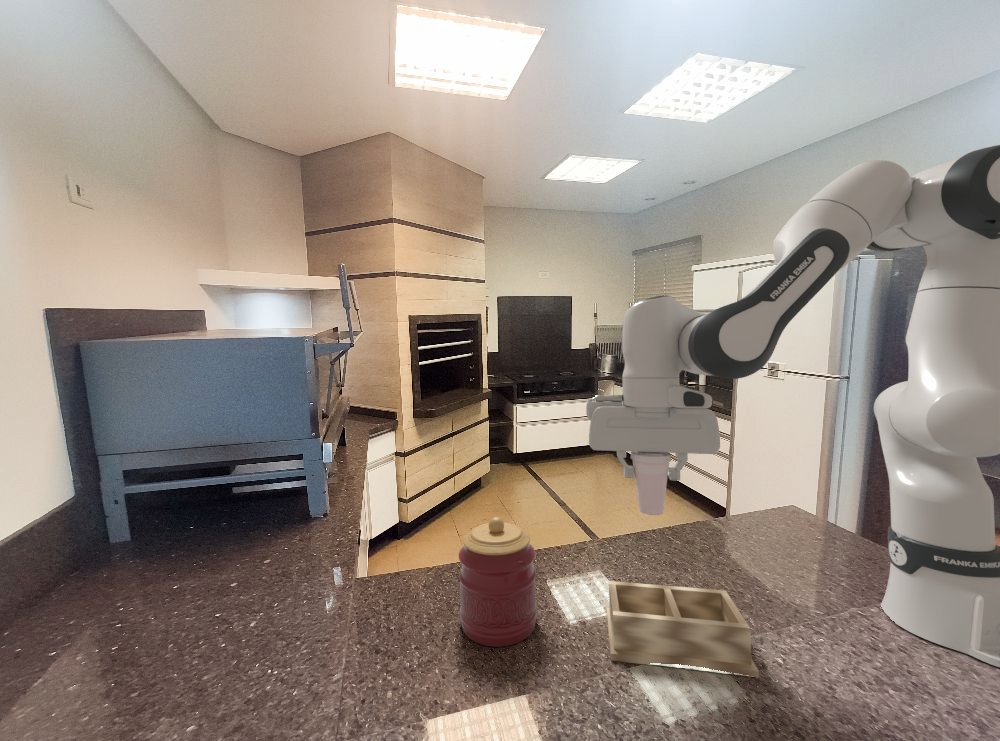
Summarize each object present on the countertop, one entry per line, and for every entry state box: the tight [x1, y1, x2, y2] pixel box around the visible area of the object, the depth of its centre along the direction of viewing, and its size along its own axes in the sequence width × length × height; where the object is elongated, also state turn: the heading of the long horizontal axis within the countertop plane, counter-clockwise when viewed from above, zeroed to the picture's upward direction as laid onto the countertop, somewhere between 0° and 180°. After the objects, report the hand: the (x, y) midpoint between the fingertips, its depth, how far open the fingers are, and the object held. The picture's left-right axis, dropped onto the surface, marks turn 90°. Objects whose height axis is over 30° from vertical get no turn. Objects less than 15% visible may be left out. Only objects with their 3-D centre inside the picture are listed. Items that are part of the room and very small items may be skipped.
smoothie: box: [630, 451, 673, 516], centre depth 65 cm, size 6×6×14 cm
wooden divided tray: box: [605, 580, 760, 678], centre depth 60 cm, size 19×12×6 cm, turn 78°
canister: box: [457, 516, 538, 648], centre depth 66 cm, size 13×13×18 cm
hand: (651, 478), depth 65 cm, fingers closed on smoothie, 6 cm apart
